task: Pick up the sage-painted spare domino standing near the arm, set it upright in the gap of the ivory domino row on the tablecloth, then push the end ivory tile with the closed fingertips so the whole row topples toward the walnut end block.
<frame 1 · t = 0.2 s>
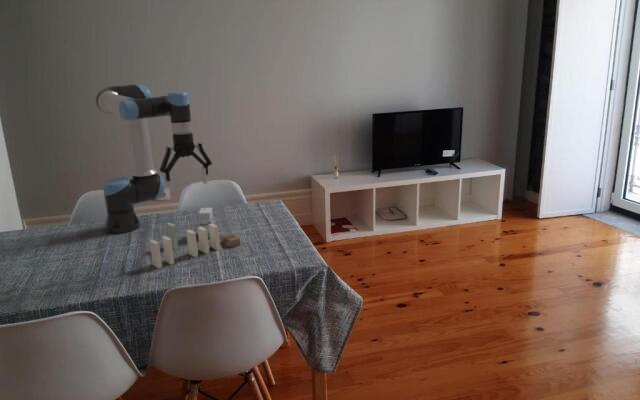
hand: (188, 185, 200), 27 cm above the table, fingers open, 13 cm apart
domino 3: (193, 254, 201), on the table
domino 2: (169, 262, 195), on the table
domino 4: (204, 251, 204), on the table
spare domino: (173, 246, 210), on the table
domino 1: (157, 265, 192), on the table
ink box: (208, 235, 222), on the table
end block: (230, 243, 211), on the table
domino 5: (215, 248, 207), on the table
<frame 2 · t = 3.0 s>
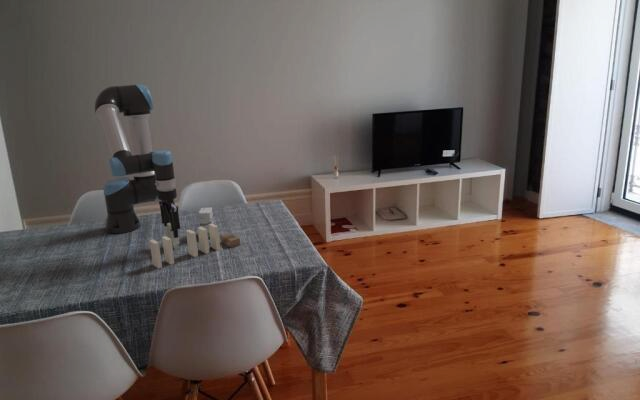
hand: (173, 242, 210), 2 cm above the table, fingers closed on spare domino, 5 cm apart
spare domino: (173, 246, 210), on the table, touching gripper
everything else where it was.
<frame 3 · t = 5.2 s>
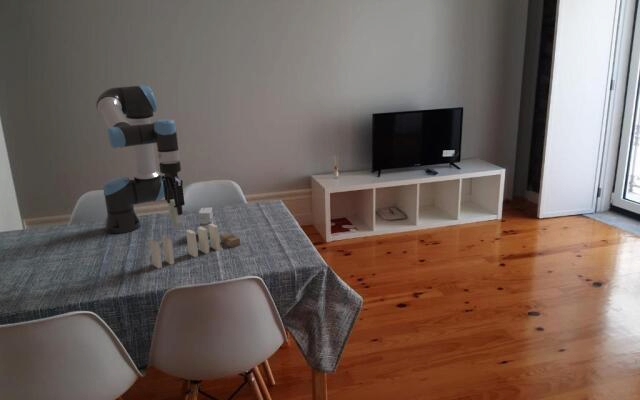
hand: (177, 220, 194), 16 cm above the table, fingers closed on spare domino, 5 cm apart
spare domino: (177, 225, 194), point 14 cm above the table, touching gripper
everything else where it was.
when the fingers open (3 cm above the table, at t = 7.8 s): spare domino stays where it is, on the table.
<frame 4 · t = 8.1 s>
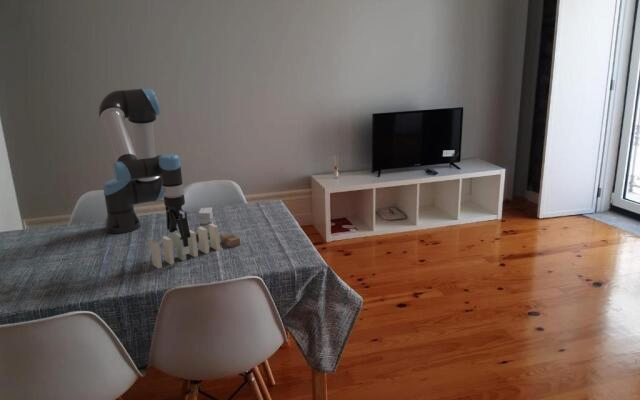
hand: (180, 250, 197), 3 cm above the table, fingers open, 8 cm apart
spare domino: (181, 258, 198), on the table
everything else where it was.
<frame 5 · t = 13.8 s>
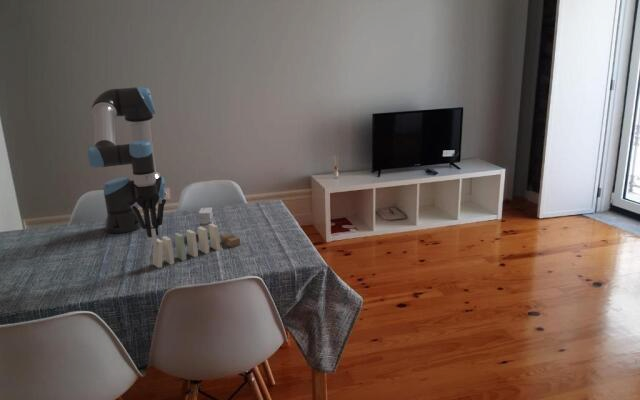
hand: (154, 244, 189), 9 cm above the table, fingers closed
domino 1: (157, 265, 192), on the table, tilted 10°
everything else where it was.
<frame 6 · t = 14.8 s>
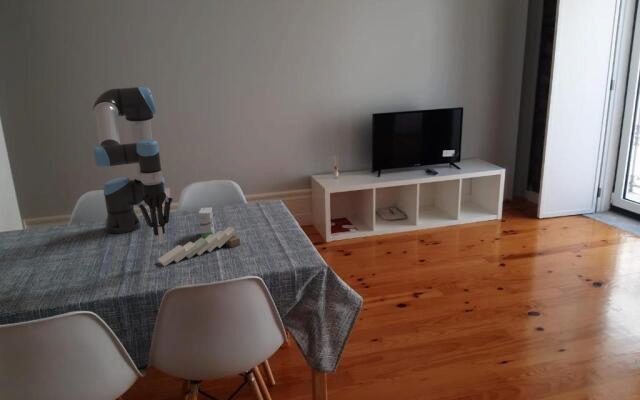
hand: (160, 242, 191), 9 cm above the table, fingers closed
domino 3: (195, 252, 202), point 1 cm above the table, tilted 65°, touching domino 4, spare domino
domino 2: (172, 259, 196), point 1 cm above the table, tilted 69°, touching domino 1, spare domino
domino 4: (205, 249, 204), point 1 cm above the table, tilted 62°, touching domino 3, domino 5
spare domino: (184, 255, 199), point 1 cm above the table, tilted 67°, touching domino 2, domino 3
domino 1: (161, 262, 193), point 1 cm above the table, tilted 70°, touching domino 2
domino 5: (215, 245, 207), point 1 cm above the table, tilted 62°, touching domino 4, end block
everything else where it was.
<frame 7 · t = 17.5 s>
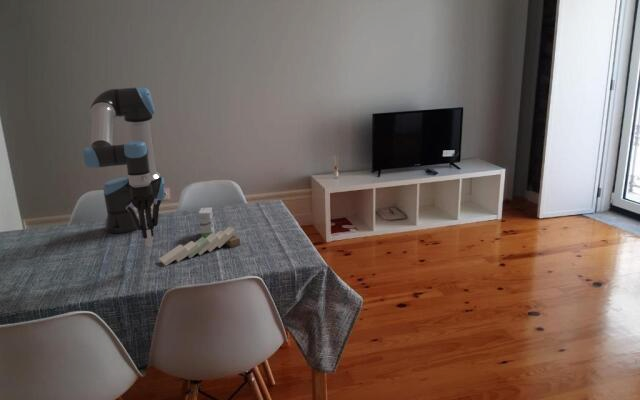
hand: (149, 245, 188), 9 cm above the table, fingers closed
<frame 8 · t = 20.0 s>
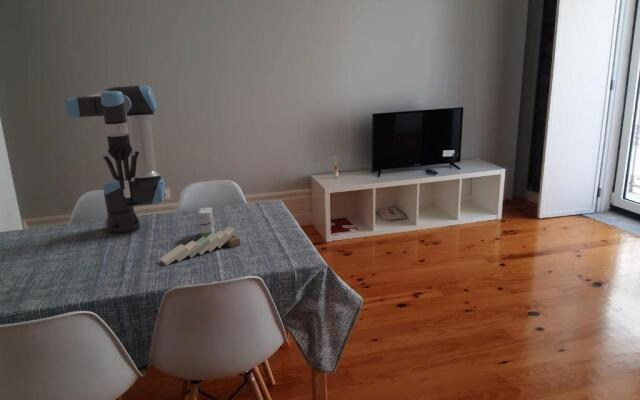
hand: (127, 196, 189), 26 cm above the table, fingers closed
at the end: domino 5 tilted 61°; spare domino tilted 65°; spare domino inside the target area (1.5 cm from its centre), point 0.7 cm above the table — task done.
